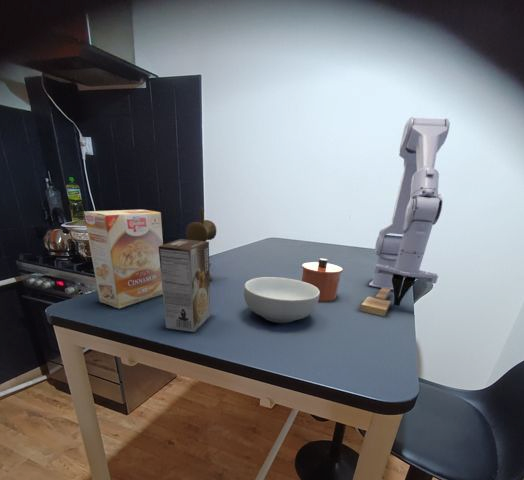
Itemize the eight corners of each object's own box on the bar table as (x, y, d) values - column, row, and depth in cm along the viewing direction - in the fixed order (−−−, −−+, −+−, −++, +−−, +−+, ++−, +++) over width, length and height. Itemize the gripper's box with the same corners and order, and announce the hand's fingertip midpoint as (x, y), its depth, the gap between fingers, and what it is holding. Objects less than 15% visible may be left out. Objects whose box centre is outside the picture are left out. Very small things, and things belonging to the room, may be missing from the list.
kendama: (187, 283, 91) (184, 207, 81) (199, 274, 99) (197, 205, 90) (207, 285, 90) (206, 209, 81) (217, 277, 98) (218, 207, 89)
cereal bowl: (305, 338, 64) (310, 304, 60) (230, 322, 68) (231, 290, 65) (321, 311, 78) (326, 283, 75) (258, 299, 82) (260, 272, 79)
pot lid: (309, 264, 92) (311, 253, 91) (346, 270, 88) (348, 259, 86) (295, 271, 83) (296, 259, 82) (335, 278, 79) (337, 266, 78)
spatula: (374, 292, 95) (375, 286, 94) (395, 296, 93) (397, 290, 92) (360, 311, 80) (361, 303, 79) (384, 316, 78) (386, 308, 77)
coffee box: (183, 312, 71) (179, 238, 64) (210, 316, 70) (210, 241, 63) (164, 328, 63) (157, 245, 56) (194, 333, 62) (191, 249, 55)
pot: (307, 287, 95) (311, 262, 91) (340, 294, 91) (345, 268, 87) (294, 296, 87) (297, 268, 83) (329, 304, 83) (334, 275, 79)
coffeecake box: (119, 309, 70) (104, 214, 61) (98, 302, 73) (81, 210, 64) (168, 293, 82) (162, 211, 73) (148, 287, 85) (140, 208, 76)
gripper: (378, 249, 76) (365, 302, 83) (444, 259, 71) (425, 315, 77) (382, 245, 82) (370, 295, 88) (444, 254, 76) (427, 307, 83)
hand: (396, 304), depth 83 cm, fingers closed
